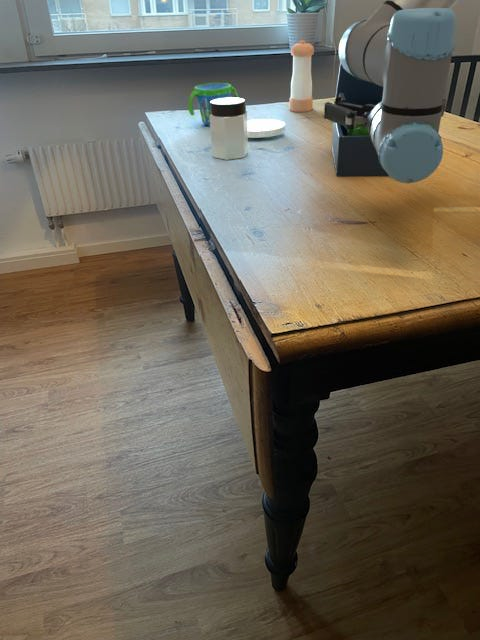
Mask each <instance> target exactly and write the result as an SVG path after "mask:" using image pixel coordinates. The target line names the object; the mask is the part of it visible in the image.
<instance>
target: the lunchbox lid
mask: <svg viewBox="0 0 480 640" xmlns="http://www.w3.org/2000/svg"><path fill="white" fill-rule="evenodd" d="M336 83H337V84H336V91H335V97H339V93H344V96H345V99H346V103H351V104H356V105H361V106H363V105H367V104H373V105H377V104H379V103H380V102H381V101H382V97H383V87H382V86H379V85H376V84H375V83H372V82H369V81H362V80H359V79H357V78H356V77H354V76H353V75H351V74H350V73H348V72H347V71H346V70H345V69H344V68H343V66H342V64H341V62H340V61H339V69H338V77H337V82H336Z"/></svg>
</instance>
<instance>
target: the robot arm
mask: <svg viewBox="0 0 480 640" xmlns="http://www.w3.org/2000/svg"><path fill="white" fill-rule="evenodd" d="M459 1H460V0H384V1H383V2H382V4H380V6H379V7H378V8H377V9H376V10H375V11H374V12H373V13H372V14H371V15H370V16H369V17H368V18H367V19H362V20H360V21H356V22H355V23H353V24H351V25H350V26H349V27H348V28H347V29H346V30H345V31H344V33H343V34H342V37H341V39H340V41H339V44H338V58H339V63H340V62H341V64H342V66H343V68H344V69H345V70H346V71H347V72H348V73H350V74H351V75H353V76H354V77H356V78H357V79H359V80H362V81H369V82H372V83H375V84H376V85H379V86H382V87H383V97H382V101H381V102H380V103H379V104H377V105H373V104H367V105H363V106H361V105H356V104H351V103H346V99H345V96H344V93H339V97H336V96H335V97H334V101H333V102H330V101H326V102H324V107H323V108H324V109H323V119H324V120H327V121H330V122H332V123H333V122H335V123H337V124H340V125H342V126H344V127H345V128H346V129H348V130H353V129H354V127H356V124H361V126H362V127H366V128H367V129H368V133H369V135H370V138H371V140H372V142H373V144H374V147H375V149H376V151H377V154H378V159H379V161H380V164H381V167H382V168H383V169H384V170H385V171H386V172H387V174H388V175H389V176H388V177H390V178H391V179H393V180H394V181H397V182H399V183H402V184H414V183H419V182H422V181H424V180H426V179H427V178H429V177H430V176H431V175H432V174H434V172H435V171H436V170H437V169H438V167H439V166H440V164H441V162H442V159H443V155H444V144H443V140H442V137H441V135H440V134H439V132H440V127H441V126H440V125H441V120H442V117H444V114H445V109H446V104H447V99H446V98H445V94H446V93H445V92H446V89H447V88H446V87H447V81H448V78H449V72H450V66H451V62H452V56H453V52H454V49H455V33H456V25H457V24H456V23H457V16H456V13H455V11H454V10H453V9H452V8H453V7H454V6H456V4H457V3H458V2H459Z"/></svg>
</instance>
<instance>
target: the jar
mask: <svg viewBox="0 0 480 640" xmlns="http://www.w3.org/2000/svg"><path fill="white" fill-rule="evenodd" d="M210 111H211V115H210V126H209V128H210V141H211V144H210V145H211V155H212V157H213V158H215V159H221V160H225V161H230V160H236V159H244V158H245V157H246V156H247V154H248V153H249V139H248V132H247V120H248V111H247V101H246V99H244V98H241V97H238V98H234V97H230V98H220V99H215V100H212V101H211V102H210Z"/></svg>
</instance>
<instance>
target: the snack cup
mask: <svg viewBox="0 0 480 640" xmlns="http://www.w3.org/2000/svg"><path fill="white" fill-rule="evenodd" d="M231 92H232V95H233V97H232V98H239V94H238V91H237V89H236V87H234V86H232V84H231V83H228V82H227V83H226V82H208V83H202V84H198V85H196V86H194V90H193V91H191V93H190V95H189V98H188V104H187V105H188V112H189V114H190V115H191V116H195V111H194V107H193V100H194V99H195V98H196V99H197V105H198V109H199V113H200V118H201V121H202V124H203V126H208V127H210V115H211V111H210V102H211V101H212V100H215V99H220V98H231ZM195 96H196V97H195Z"/></svg>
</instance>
